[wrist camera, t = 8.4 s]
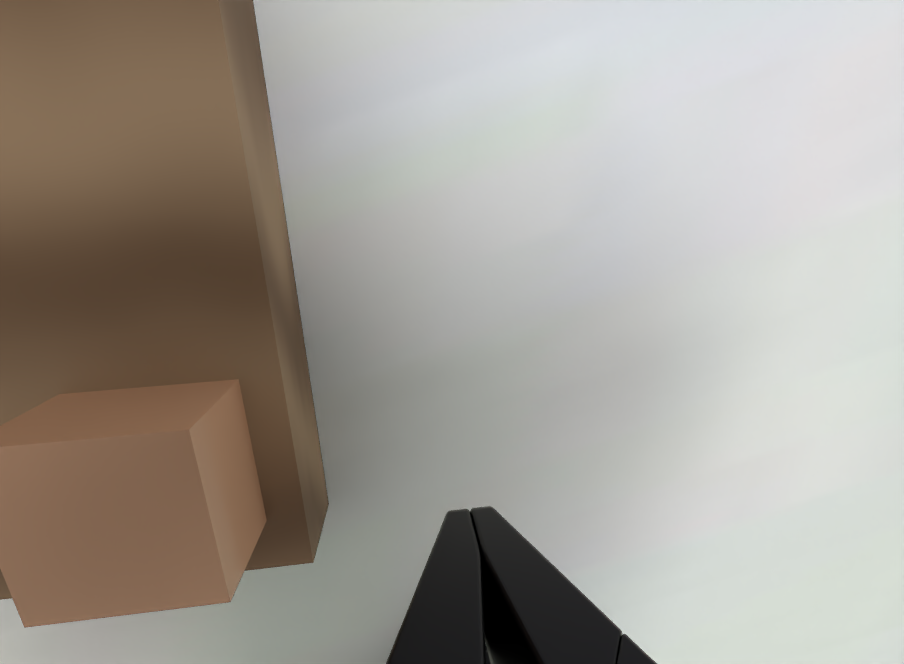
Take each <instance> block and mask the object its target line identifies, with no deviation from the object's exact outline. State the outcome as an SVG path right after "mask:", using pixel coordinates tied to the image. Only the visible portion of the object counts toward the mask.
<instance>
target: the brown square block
mask: <svg viewBox="0 0 904 664" xmlns="http://www.w3.org/2000/svg"><path fill="white" fill-rule="evenodd" d="M266 521H267V519H266V514H265V509H264V504H263V499H262V494H261V489H260V484H259V479H258V474H257V469H256V464H255V459H254V454H253V449H252V444H251V439H250V434H249V429H248V424H247V419H246V414H245V408H244V403H243V398H242V393H241V388H240V383H239V379H235V380H223V381H211V382H199V383H187V384H175V385H163V386H151V387H139V388H127V389H115V390H103V391H91V392H79V393H67V394H59V395H57V396H55V397H53V398H51V399H49V400H47V401H46V402H44V403H42V404H40V405H38V406H36V407H34V408H32V409H31V410H29V411H27V412H25V413H23V414H21V415H19V416H17V417H16V418H14V419H12V420H10V421H8V422H6V423H4V424H2V425H1V426H0V569H1V572H2V574H3V576H4V579H5V581H6V584H7V586H8V589H9V591H10V593H11V596H12V598H13V601H14V603H15V606H16V608H17V611H18V613H19V615H20V618H21V620H22V623H23V625H24V628H25V627H33V626H41V625H49V624H57V623H65V622H73V621H81V620H89V619H97V618H105V617H113V616H121V615H129V614H138V613H146V612H154V611H162V610H170V609H178V608H186V607H194V606H202V605H210V604H218V603H226V602H231V600H232V597H233V595H234V593H235V591H236V588H237V586H238V584H239V582H240V579H241V577H242V575H243V573H244V570H245V568H246V566H247V564H248V561H249V559H250V557H251V555H252V553H253V550H254V548H255V546H256V544H257V541H258V539H259V537H260V535H261V532H262V530H263V528H264V526H265V523H266Z"/></svg>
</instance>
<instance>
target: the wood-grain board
mask: <svg viewBox="0 0 904 664" xmlns="http://www.w3.org/2000/svg"><path fill="white" fill-rule="evenodd" d="M235 379H239V383H240V388H241V393H242V398H243V403H244V408H245V414H246V419H247V424H248V429H249V434H250V439H251V444H252V449H253V454H254V459H255V464H256V469H257V474H258V479H259V484H260V489H261V494H262V499H263V504H264V509H265V514H266V519H267V521H266V523H265V526H264V528H263V530H262V532H261V535H260V537H259V539H258V541H257V544H256V546H255V548H254V550H253V553H252V555H251V557H250V559H249V561H248V564H247V566H246V568H245V570H244V571H246V570H254V569H263V568H271V567H280V566H288V565H297V564H305V563H313V562H314V558H315V554H316V550H317V547H318V543H319V539H320V535H321V531H322V527H323V524H324V520H325V516H326V512H327V508H328V504H329V503H328V496H327V490H326V483H325V477H324V470H323V463H322V457H321V450H320V443H319V437H318V430H317V423H316V417H315V410H314V403H313V397H312V390H311V384H310V377H309V370H308V364H307V357H306V350H305V344H304V337H303V330H302V324H301V317H300V310H299V304H298V297H297V291H296V284H295V277H294V271H293V264H292V257H291V251H290V244H289V237H288V231H287V224H286V218H285V211H284V204H283V198H282V191H281V184H280V178H279V171H278V164H277V158H276V151H275V144H274V138H273V131H272V125H271V118H270V111H269V105H268V98H267V91H266V85H265V78H264V71H263V65H262V58H261V51H260V45H259V38H258V32H257V25H256V18H255V12H254V5H253V0H0V426H1V425H2V424H4V423H6V422H8V421H10V420H12V419H14V418H16V417H17V416H19V415H21V414H23V413H25V412H27V411H29V410H31V409H32V408H34V407H36V406H38V405H40V404H42V403H44V402H46V401H47V400H49V399H51V398H53V397H55V396H57V395H59V394H67V393H79V392H91V391H103V390H115V389H127V388H139V387H151V386H163V385H175V384H187V383H199V382H211V381H223V380H235ZM9 598H12V596H11V593H10V591H9V589H8V586H7V584H6V581H5V579H4V576H3V574H2V572H1V569H0V600H1V599H9Z"/></svg>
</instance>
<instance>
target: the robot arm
mask: <svg viewBox="0 0 904 664" xmlns="http://www.w3.org/2000/svg"><path fill="white" fill-rule="evenodd" d="M485 641H486V646H485ZM386 664H657V663H656V662H655V661H654V660H652V659H651V658H650V657H649V656H648V655H647V654H646V653H645V652H644V651H643V650H642V649H641V648H640V647H638V646H637V645H636V644H635V643H634V642H633V641H632V640H631V639H630V638H629V637H628V636H627V635H626V634H623V635H622V631H621V630H620V629H619V628H618V627H617V626H616V625H615V624H614V623H613V622H612V621H611V620H610V619H609V618H608V617H607V616H606V615H605V614H604V613H603V612H602V611H601V610H600V609H598V608H597V607H596V606H595V605H594V604H593V603H592V602H591V601H590V600H589V599H588V598H587V597H586V596H585V595H584V594H583V593H582V592H581V591H580V590H579V589H578V588H576V587H575V586H574V585H573V584H572V583H571V582H570V581H569V580H568V579H567V578H566V577H565V576H564V575H563V574H562V573H561V572H560V571H559V570H558V569H557V568H556V567H555V566H553V565H552V564H551V563H550V562H549V561H548V560H547V559H546V558H545V557H544V556H543V555H542V554H541V553H540V552H539V551H538V550H537V549H536V548H535V547H534V546H533V545H532V544H530V543H529V542H528V541H527V540H526V539H525V538H524V537H523V536H522V535H521V534H520V533H519V532H518V531H517V530H516V529H515V528H514V527H513V526H512V525H511V524H510V523H508V522H507V521H506V520H505V519H504V518H503V517H502V516H501V515H500V514H499V513H498V512H497V511H496V510H495V509H494V508H493V507H490V506H487V507H478V508H472V509H471V511H469V510H468V509H460V510H451V511H448V512H447V514H446V516H445V519H444V521H443V524H442V526H441V529H440V531H439V534H438V536H437V538H436V541H435V543H434V546H433V548H432V551H431V553H430V556H429V558H428V561H427V563H426V566H425V568H424V571H423V573H422V576H421V578H420V581H419V583H418V586H417V588H416V591H415V593H414V596H413V598H412V600H411V603H410V605H409V608H408V610H407V613H406V615H405V618H404V620H403V623H402V625H401V628H400V630H399V633H398V635H397V638H396V640H395V643H394V645H393V648H392V650H391V653H390V655H389V657H388V660H387V662H386Z"/></svg>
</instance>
